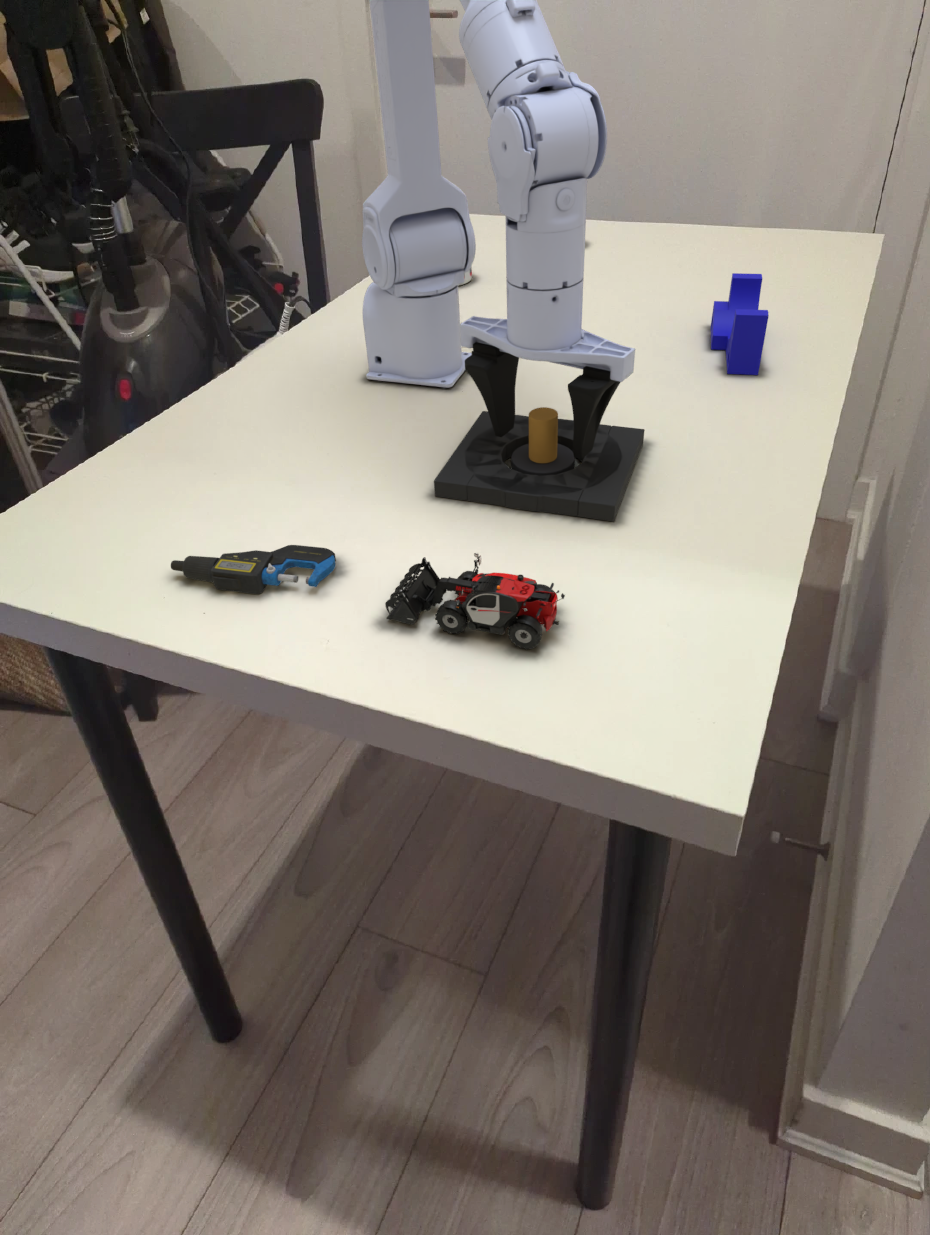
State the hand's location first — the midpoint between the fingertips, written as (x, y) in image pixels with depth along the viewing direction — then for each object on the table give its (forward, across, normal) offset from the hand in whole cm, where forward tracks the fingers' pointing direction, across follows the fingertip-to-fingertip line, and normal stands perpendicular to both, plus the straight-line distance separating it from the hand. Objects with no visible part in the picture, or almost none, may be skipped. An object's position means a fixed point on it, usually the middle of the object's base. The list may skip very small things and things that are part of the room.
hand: (542, 442), depth 73 cm
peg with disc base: (+3, 0, 0) cm, 3 cm away
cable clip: (+3, -5, -31) cm, 32 cm away
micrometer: (+3, +11, +24) cm, 26 cm away
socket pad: (+3, 0, 0) cm, 3 cm away
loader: (+3, -6, +20) cm, 21 cm away
